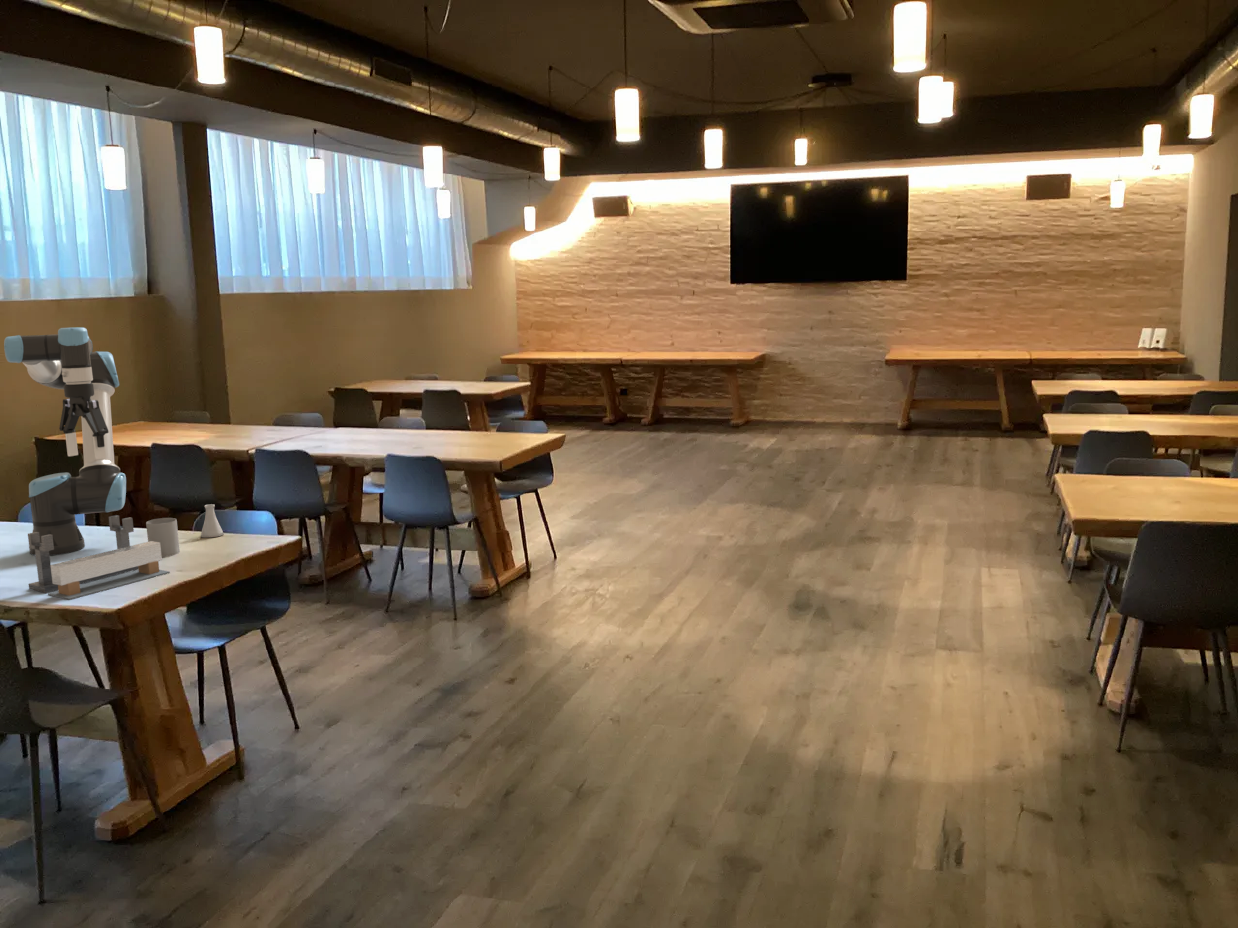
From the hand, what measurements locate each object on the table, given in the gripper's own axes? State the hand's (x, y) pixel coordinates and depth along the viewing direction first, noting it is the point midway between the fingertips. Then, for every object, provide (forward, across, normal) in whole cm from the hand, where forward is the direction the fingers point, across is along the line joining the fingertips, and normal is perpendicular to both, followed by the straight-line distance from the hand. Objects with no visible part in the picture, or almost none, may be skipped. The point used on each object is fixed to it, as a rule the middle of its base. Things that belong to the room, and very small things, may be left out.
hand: (86, 457), depth 303 cm
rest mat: (+32, +22, -10) cm, 40 cm away
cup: (+32, +5, +18) cm, 37 cm away
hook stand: (+32, +11, -10) cm, 35 cm away
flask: (+32, -2, +40) cm, 51 cm away
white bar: (+28, +22, -10) cm, 37 cm away
